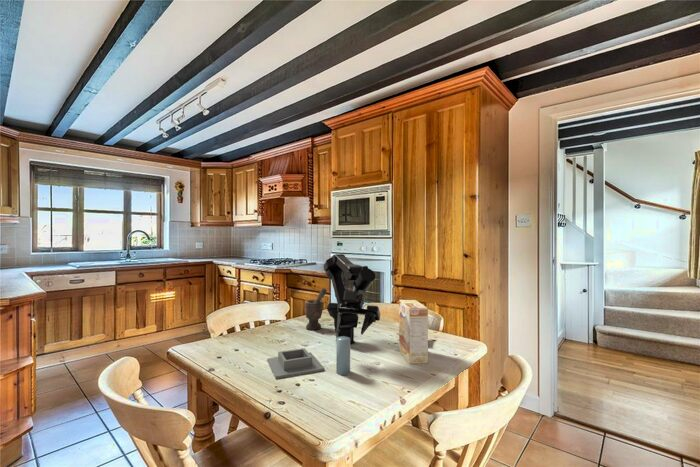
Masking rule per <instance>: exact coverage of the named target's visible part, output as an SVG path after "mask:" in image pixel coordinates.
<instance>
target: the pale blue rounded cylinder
mask: <svg viewBox="0 0 700 467" xmlns="http://www.w3.org/2000/svg"><path fill="white" fill-rule="evenodd" d="M335 341H336V346H335V347H336V355H335V356H336V358H335V360H336V364H335V365H336V366H335V368H336V369H335V373H336V374H337V375H338V376H347V375H350V374H351V344H350V338H349V337H346V336H341V337H337V338H336V337H335Z"/></svg>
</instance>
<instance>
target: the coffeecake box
mask: <svg viewBox="0 0 700 467" xmlns="http://www.w3.org/2000/svg"><path fill="white" fill-rule="evenodd" d="M398 302H399V303H398V307H399V308H398V331H399V332H398V350H399V351H400V354H402V356H403V357H404V358H405V360H406V361H407V362H408V364H409V365H416V364H428V363H429V346H428V345H429V315H428V314H429V307H427V306H425V305H424V304H422V303H420V302H419V301H418V300H416V299H399V300H398Z"/></svg>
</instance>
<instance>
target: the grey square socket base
mask: <svg viewBox="0 0 700 467" xmlns="http://www.w3.org/2000/svg"><path fill="white" fill-rule="evenodd" d="M266 362H267V363H268V365H269V368H270V370H271V372H272V375H273V377H274V378H275V380H277V379H278V380H279V379H284V378H289V377H296V376H302V375H307V374H312V373H313V374H314V373H319V372H325V367H324V366H323V365H322V363H320V361H319V360H318V358H316V357H315V355H314V354H313V353H312V352H309V351H308V350H307V349H306V348H305V347H303V348H295V349H289V350H281V351H278V352H277V357H276V356H275V357H269V358H267V360H266Z"/></svg>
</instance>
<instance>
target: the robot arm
mask: <svg viewBox="0 0 700 467" xmlns="http://www.w3.org/2000/svg"><path fill="white" fill-rule="evenodd" d="M323 271H324V272H325V275H326V277H328V278H329V279H330V280H331V283H332V287H333V291H334V295H335V299H336V302H329V303H328V304H327V305H326V306H327V307H326V310H327V312H328V314H329V316H330V317H331V318H332V319H333V326H334V332H335V334H336V335H335V339H336V338H337V337H341V336H346V337H349V338H350V345H352V344H356V341H355V340H354V339H355V336H354V335H355V334H354V333H355V331H354V330H355V328H358V325H359V324H358V322H359V315H363V316H364V318H363V321H362V322H363V323H362V326H361V330H360V335H364V334H365V332H366V331H367V330H368V328H369V327H370V326H371V325H372V324H373V323H376V322H378V321H380V320H381V311H380V307H379V306H378V305H373V304H371V305H369V304H368V305H367V306H366V308H363V307H364V304H365V299H366V293H367V289H369V288H370V287H371V285H372V284H373V282H374V281H375V280H376V273H375V272H374V270H372V269H370V268H369V266H368V265H360V264H356V263H355V264H354V263H353V262H352V261H351V260H349V259H348V258H347V257H346V255H345V254H344V253H340V254H339V253H338V254H337V253H335V254H333V255H332V256H331V257H330V258H328V259H326V260H325V262H324V264H323ZM342 273H343V276H344V278H345V279H346V281H347V282H352V285H351V287H350V290H346V287H345V284H344V280H343V277H342Z"/></svg>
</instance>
